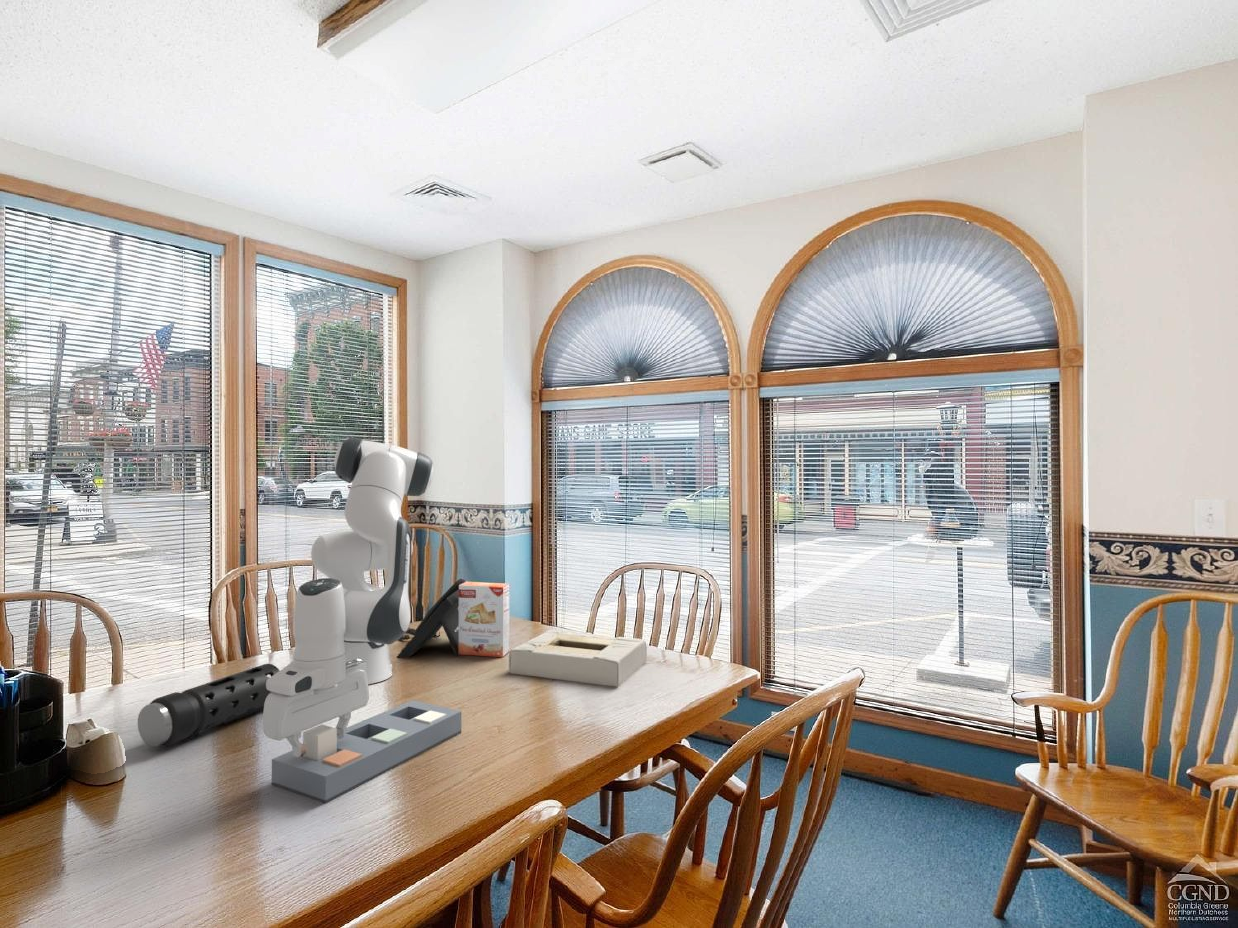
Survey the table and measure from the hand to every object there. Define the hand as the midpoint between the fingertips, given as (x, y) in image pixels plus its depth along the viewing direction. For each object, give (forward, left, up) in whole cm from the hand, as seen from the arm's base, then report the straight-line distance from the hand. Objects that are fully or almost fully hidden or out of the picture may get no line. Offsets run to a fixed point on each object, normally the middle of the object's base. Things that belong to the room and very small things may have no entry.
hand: (319, 746), depth 125 cm
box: (+8, +79, -6) cm, 79 cm away
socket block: (+2, +11, -6) cm, 13 cm away
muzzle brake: (-39, +5, -6) cm, 40 cm away
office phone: (-47, +76, -6) cm, 90 cm away
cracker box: (-24, +76, -6) cm, 80 cm away
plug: (0, 0, -5) cm, 5 cm away
